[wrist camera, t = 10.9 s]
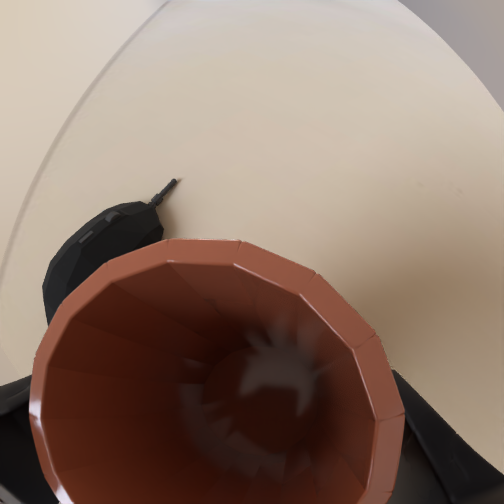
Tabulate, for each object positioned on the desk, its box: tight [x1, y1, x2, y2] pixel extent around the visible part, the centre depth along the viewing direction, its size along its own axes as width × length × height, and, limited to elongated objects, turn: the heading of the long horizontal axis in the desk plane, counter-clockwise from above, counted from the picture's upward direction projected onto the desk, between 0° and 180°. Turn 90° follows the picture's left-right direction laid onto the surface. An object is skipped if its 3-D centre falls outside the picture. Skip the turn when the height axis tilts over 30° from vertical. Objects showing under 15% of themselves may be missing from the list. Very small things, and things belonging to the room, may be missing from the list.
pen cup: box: [29, 238, 405, 504], centre depth 9 cm, size 7×7×12 cm
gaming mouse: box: [42, 179, 177, 327], centre depth 18 cm, size 6×15×4 cm, turn 148°
